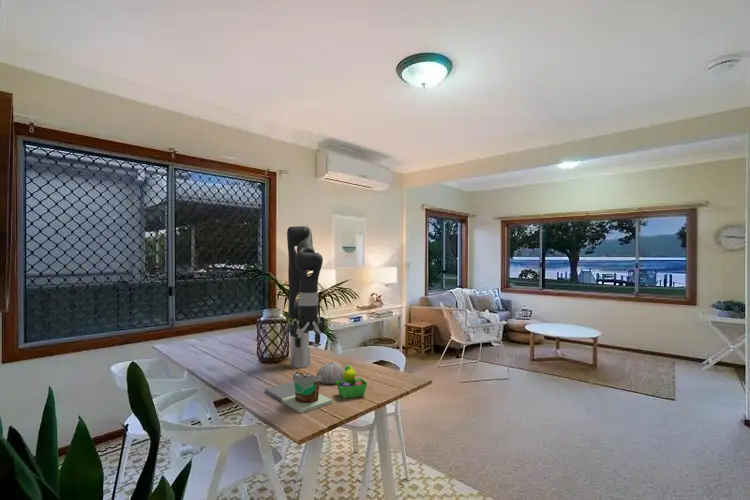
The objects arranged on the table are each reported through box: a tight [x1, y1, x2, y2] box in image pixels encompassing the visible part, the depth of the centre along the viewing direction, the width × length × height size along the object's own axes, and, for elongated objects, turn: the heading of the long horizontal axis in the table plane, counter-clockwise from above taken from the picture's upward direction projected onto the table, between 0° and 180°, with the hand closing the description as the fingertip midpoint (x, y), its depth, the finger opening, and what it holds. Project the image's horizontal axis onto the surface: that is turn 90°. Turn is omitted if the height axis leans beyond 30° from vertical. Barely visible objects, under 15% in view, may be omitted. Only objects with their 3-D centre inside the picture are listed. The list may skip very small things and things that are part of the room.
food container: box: [291, 370, 321, 403], centre depth 139 cm, size 12×6×10 cm, turn 64°
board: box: [264, 380, 333, 414], centre depth 146 cm, size 14×28×1 cm, turn 43°
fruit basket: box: [335, 364, 368, 399], centre depth 150 cm, size 11×9×11 cm
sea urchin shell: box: [316, 361, 345, 384], centre depth 166 cm, size 13×14×8 cm
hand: (307, 345), depth 141 cm, fingers open, 8 cm apart
